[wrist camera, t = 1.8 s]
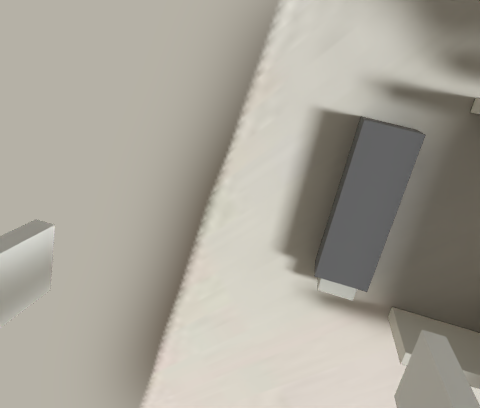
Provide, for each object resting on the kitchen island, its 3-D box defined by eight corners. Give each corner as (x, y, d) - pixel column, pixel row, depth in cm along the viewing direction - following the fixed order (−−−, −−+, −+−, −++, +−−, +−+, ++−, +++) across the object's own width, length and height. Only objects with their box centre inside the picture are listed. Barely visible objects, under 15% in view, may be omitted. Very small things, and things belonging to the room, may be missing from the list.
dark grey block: (360, 116, 30) (364, 119, 27) (416, 129, 29) (425, 134, 27) (310, 275, 34) (309, 292, 31) (358, 289, 34) (361, 307, 31)
